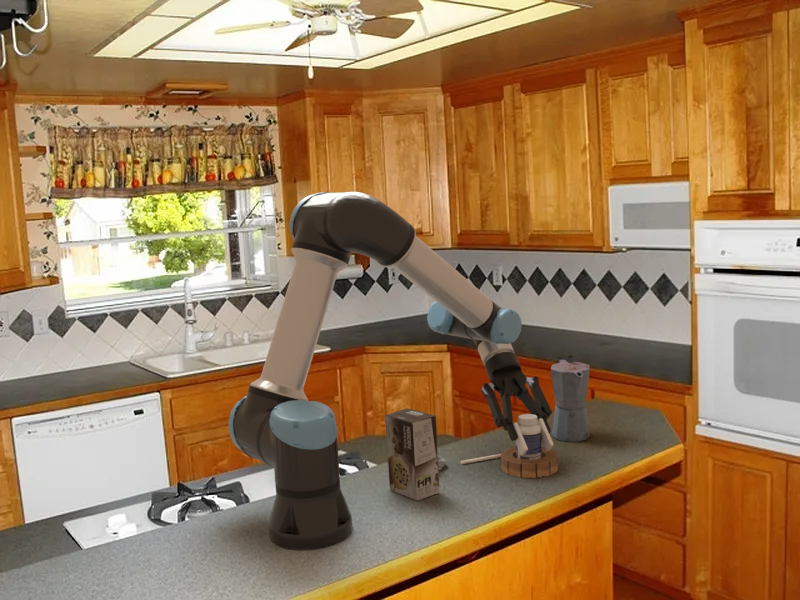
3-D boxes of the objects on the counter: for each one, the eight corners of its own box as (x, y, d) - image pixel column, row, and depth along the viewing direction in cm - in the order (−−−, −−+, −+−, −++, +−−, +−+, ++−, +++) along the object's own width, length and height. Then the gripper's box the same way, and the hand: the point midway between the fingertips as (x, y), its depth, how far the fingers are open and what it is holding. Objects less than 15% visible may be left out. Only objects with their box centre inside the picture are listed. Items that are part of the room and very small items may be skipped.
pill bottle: (547, 460, 177) (545, 416, 176) (527, 466, 175) (526, 421, 173) (531, 454, 182) (529, 411, 181) (511, 459, 179) (510, 415, 178)
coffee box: (441, 492, 167) (437, 415, 165) (416, 501, 163) (412, 422, 161) (412, 481, 174) (408, 407, 172) (388, 489, 170) (383, 413, 168)
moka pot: (564, 448, 190) (562, 362, 188) (538, 429, 205) (536, 350, 202) (602, 442, 193) (601, 358, 190) (573, 424, 207) (572, 346, 205)
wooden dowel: (462, 464, 183) (462, 461, 183) (460, 463, 183) (460, 460, 183) (526, 453, 188) (526, 450, 188) (525, 452, 189) (525, 449, 189)
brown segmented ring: (517, 481, 171) (517, 467, 171) (492, 464, 182) (491, 450, 182) (568, 471, 175) (568, 458, 175) (540, 455, 186) (540, 442, 186)
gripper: (530, 363, 193) (569, 451, 180) (457, 373, 187) (492, 465, 174) (540, 345, 188) (581, 434, 175) (466, 355, 182) (503, 448, 169)
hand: (537, 450), depth 175 cm, fingers closed on pill bottle, 5 cm apart
